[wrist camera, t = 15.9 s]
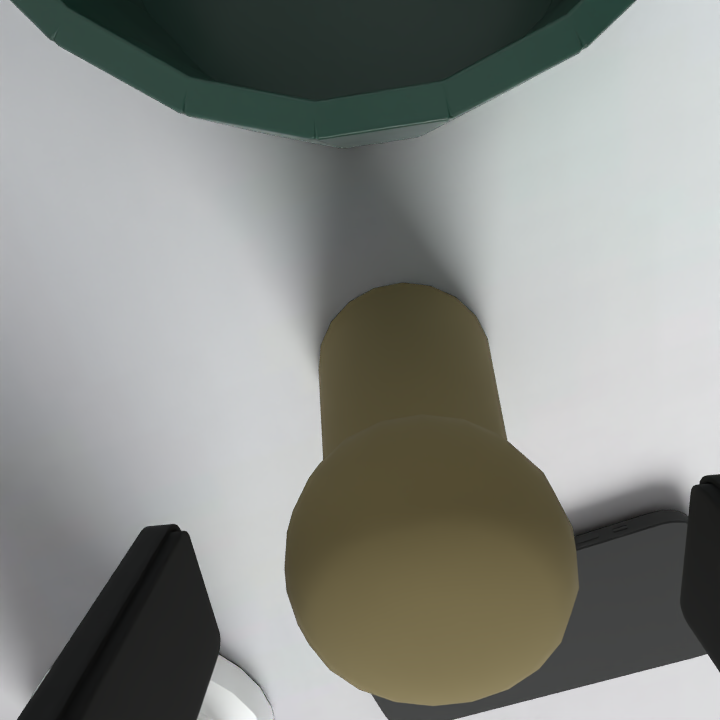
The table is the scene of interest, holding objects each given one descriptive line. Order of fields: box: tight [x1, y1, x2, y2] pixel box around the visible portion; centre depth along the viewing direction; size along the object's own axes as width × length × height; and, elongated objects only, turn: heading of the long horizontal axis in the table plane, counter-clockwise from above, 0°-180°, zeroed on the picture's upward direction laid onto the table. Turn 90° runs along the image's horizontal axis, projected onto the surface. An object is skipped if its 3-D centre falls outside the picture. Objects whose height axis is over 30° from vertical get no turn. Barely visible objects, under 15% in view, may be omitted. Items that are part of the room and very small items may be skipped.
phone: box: [372, 510, 707, 720], centre depth 22 cm, size 7×1×15 cm
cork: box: [285, 283, 579, 706], centre depth 13 cm, size 6×6×11 cm
